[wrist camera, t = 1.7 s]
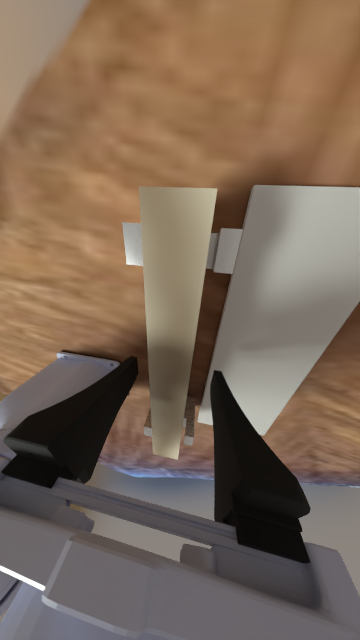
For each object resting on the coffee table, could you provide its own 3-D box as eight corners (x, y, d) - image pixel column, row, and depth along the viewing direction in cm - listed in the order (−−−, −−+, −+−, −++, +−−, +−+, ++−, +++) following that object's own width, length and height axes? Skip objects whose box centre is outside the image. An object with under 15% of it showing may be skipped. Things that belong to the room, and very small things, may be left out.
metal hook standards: (156, 398, 21) (144, 435, 17) (152, 234, 11) (122, 222, 7) (193, 405, 20) (191, 445, 16) (226, 239, 10) (243, 229, 6)
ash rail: (160, 425, 19) (153, 453, 16) (160, 209, 8) (139, 186, 5) (181, 430, 18) (177, 459, 16) (211, 211, 8) (217, 188, 5)
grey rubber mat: (197, 417, 22) (197, 422, 21) (251, 189, 9) (254, 184, 8) (262, 430, 21) (263, 435, 20) (423, 193, 8) (439, 189, 7)
